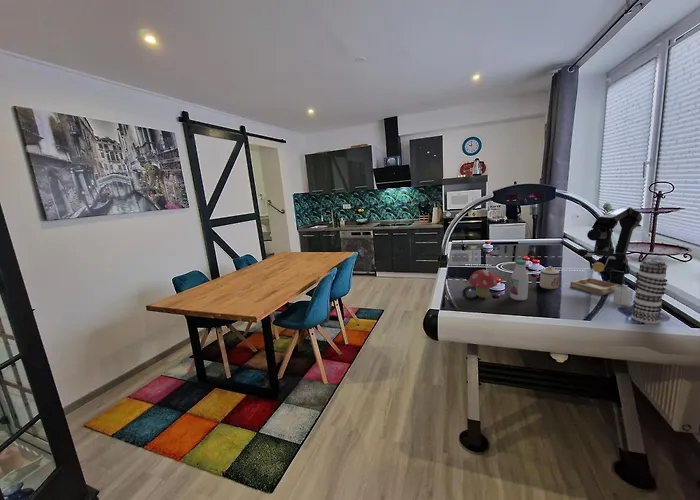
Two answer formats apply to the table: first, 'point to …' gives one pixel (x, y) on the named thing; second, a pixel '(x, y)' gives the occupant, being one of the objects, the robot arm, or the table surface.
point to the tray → (594, 286)
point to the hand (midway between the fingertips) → (597, 270)
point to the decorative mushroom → (483, 282)
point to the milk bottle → (519, 281)
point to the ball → (598, 267)
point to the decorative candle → (649, 291)
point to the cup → (621, 296)
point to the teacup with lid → (549, 278)
